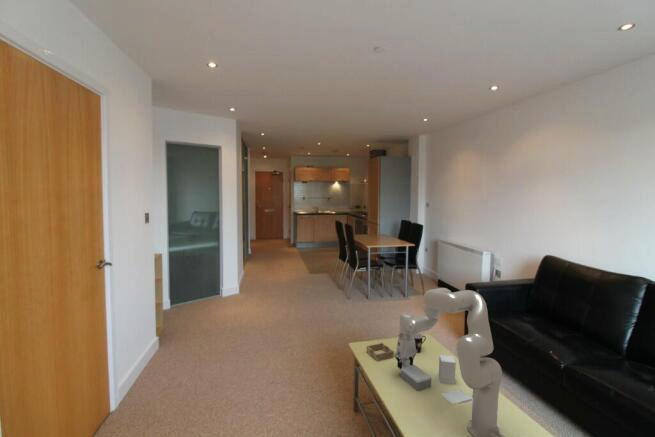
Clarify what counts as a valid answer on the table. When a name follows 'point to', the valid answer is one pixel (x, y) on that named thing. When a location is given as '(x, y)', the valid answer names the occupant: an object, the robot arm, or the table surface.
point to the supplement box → (447, 369)
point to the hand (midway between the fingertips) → (405, 366)
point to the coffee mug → (418, 341)
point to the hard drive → (456, 397)
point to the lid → (414, 371)
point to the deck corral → (382, 356)
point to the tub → (413, 383)
